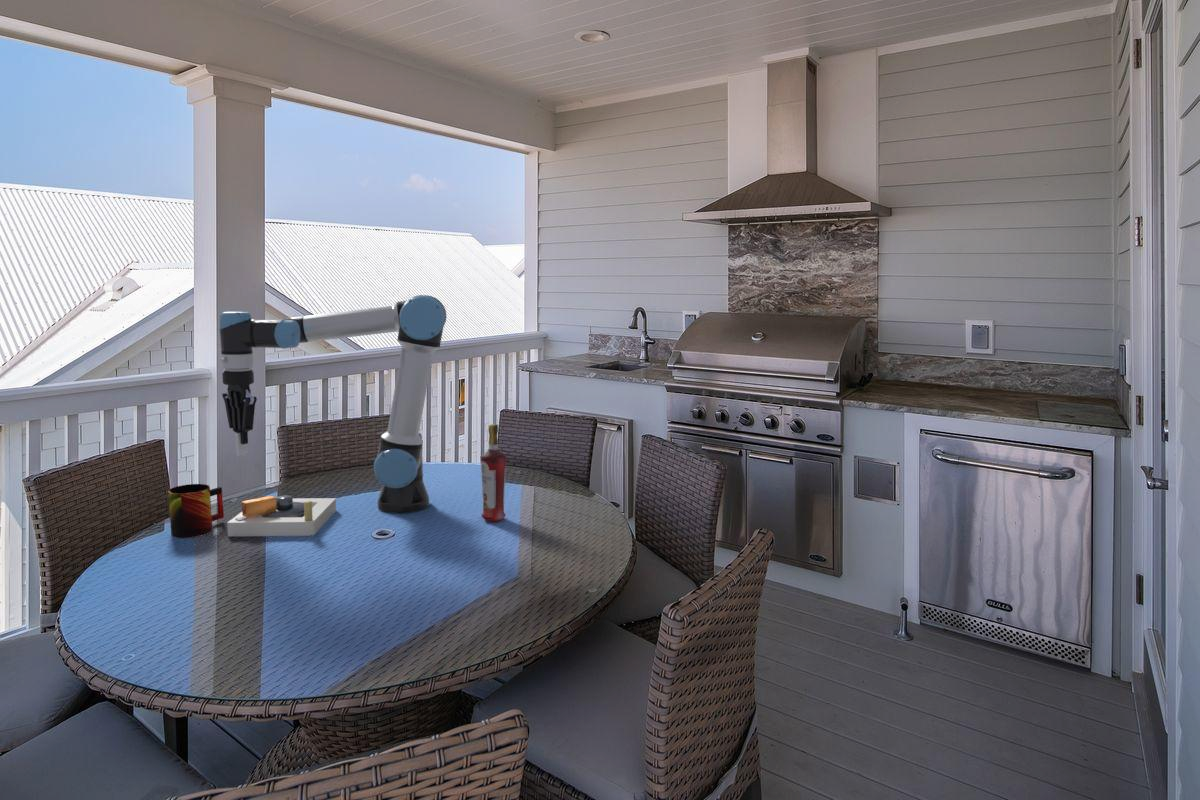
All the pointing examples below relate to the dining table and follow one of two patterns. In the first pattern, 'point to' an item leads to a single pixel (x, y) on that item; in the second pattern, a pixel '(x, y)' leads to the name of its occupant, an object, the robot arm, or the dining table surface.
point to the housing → (286, 521)
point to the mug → (193, 509)
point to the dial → (273, 507)
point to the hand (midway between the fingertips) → (242, 455)
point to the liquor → (493, 478)
